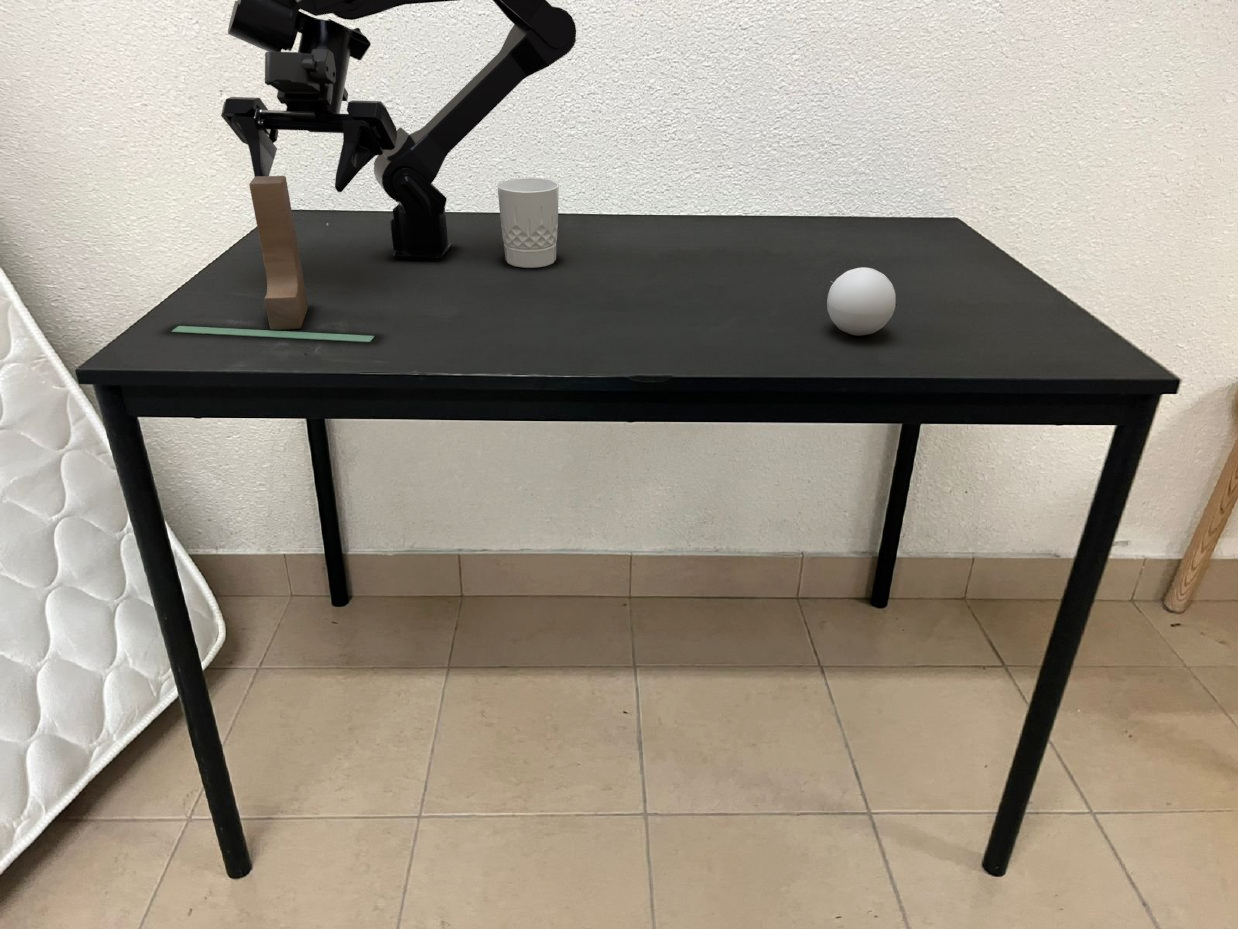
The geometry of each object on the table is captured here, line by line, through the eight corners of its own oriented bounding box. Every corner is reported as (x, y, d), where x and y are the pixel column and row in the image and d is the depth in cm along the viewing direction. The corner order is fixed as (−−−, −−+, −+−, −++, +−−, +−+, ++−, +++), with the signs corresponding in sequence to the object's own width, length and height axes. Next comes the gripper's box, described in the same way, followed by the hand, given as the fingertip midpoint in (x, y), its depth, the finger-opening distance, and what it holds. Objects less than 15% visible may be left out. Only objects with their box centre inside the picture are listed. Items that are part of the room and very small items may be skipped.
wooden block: (279, 309, 103) (253, 175, 95) (308, 308, 103) (285, 175, 96) (270, 330, 97) (242, 190, 90) (301, 329, 98) (276, 189, 90)
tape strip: (374, 336, 96) (374, 335, 96) (369, 342, 95) (369, 341, 95) (179, 326, 98) (178, 325, 98) (171, 332, 96) (171, 331, 96)
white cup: (490, 265, 118) (485, 187, 113) (518, 248, 124) (515, 174, 119) (544, 273, 115) (542, 194, 110) (569, 255, 121) (568, 180, 116)
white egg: (901, 344, 97) (914, 279, 93) (836, 347, 96) (846, 281, 92) (865, 311, 105) (876, 249, 101) (805, 313, 104) (813, 252, 100)
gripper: (210, 18, 98) (181, 143, 94) (375, 21, 96) (353, 149, 92) (257, 85, 108) (232, 200, 105) (406, 89, 107) (387, 206, 103)
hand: (298, 188), depth 101 cm, fingers open, 9 cm apart
